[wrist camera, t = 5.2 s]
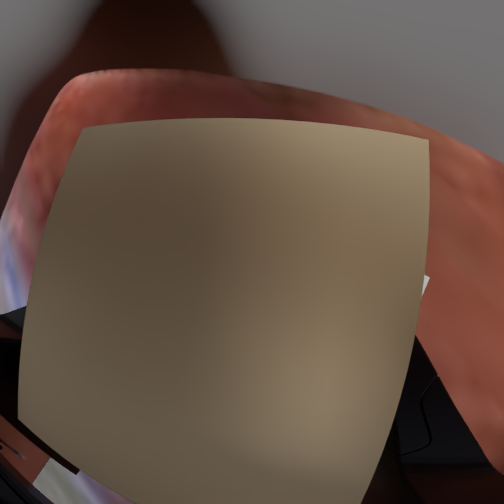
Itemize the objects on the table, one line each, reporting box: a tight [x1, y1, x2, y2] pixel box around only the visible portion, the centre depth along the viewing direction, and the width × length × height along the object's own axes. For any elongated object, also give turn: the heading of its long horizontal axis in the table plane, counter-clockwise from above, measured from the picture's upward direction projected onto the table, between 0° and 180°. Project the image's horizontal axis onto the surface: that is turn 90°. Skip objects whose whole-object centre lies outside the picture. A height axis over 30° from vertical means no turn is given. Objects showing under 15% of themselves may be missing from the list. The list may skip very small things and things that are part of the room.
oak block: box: [18, 118, 430, 504], centre depth 9 cm, size 6×6×12 cm
